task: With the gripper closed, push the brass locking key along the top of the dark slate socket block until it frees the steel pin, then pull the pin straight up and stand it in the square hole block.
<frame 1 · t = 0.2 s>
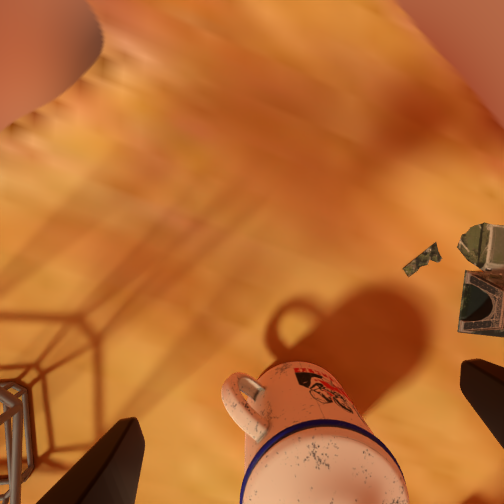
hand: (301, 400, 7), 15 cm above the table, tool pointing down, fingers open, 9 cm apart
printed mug: (283, 397, 23), on the table
eiffel tower figurine: (489, 301, 24), on the table
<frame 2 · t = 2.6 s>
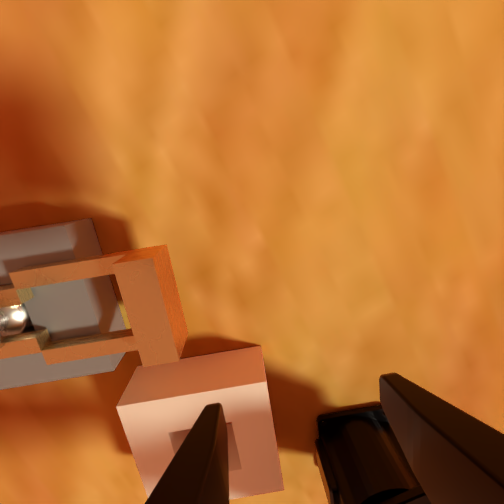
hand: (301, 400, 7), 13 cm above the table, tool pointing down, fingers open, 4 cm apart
brass key: (54, 320, 15), point 5 cm above the table, slide at 0.0 cm
socket block: (30, 298, 20), on the table
square hole block: (211, 405, 23), on the table
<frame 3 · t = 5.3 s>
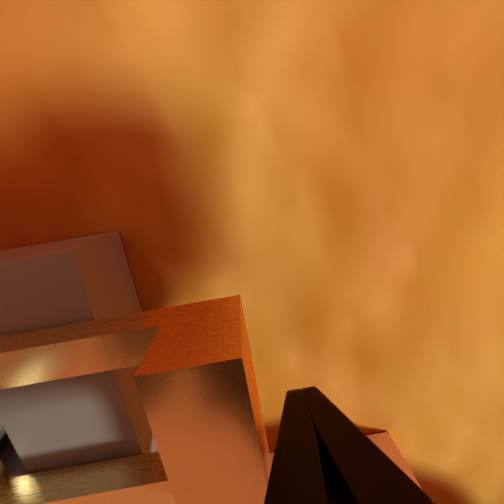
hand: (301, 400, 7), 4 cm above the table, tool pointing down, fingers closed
brass key: (3, 466, 7), point 5 cm above the table, slide at 1.3 cm, touching gripper
socket block: (11, 369, 11), on the table
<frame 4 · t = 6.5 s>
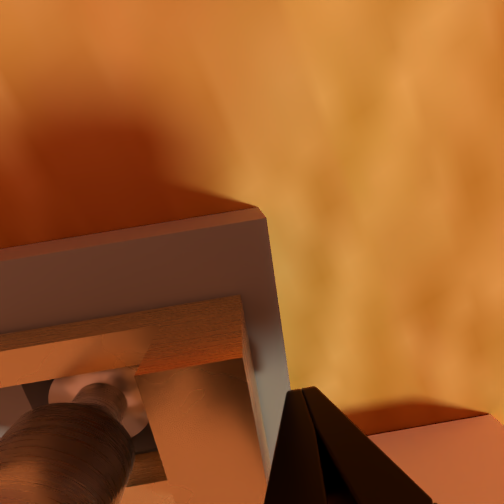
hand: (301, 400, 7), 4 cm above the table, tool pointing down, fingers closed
steel pin: (62, 468, 7), in the socket block
brass key: (2, 465, 7), point 5 cm above the table, slide at 6.5 cm, touching gripper
socket block: (135, 347, 11), on the table
square hole block: (394, 502, 15), on the table
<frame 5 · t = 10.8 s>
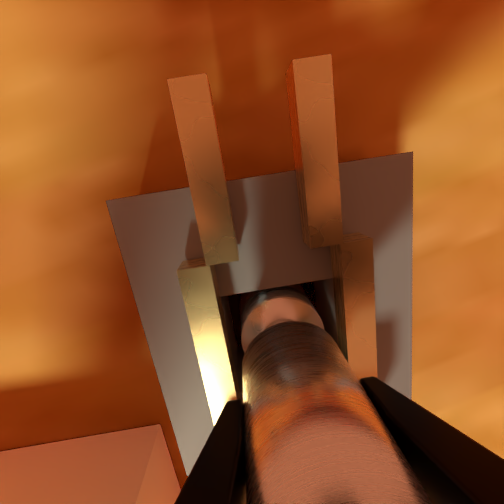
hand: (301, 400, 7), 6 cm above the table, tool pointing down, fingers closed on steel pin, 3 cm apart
steel pin: (294, 374, 8), in the socket block, touching gripper
brass key: (284, 312, 8), point 5 cm above the table, slide at 6.7 cm
socket block: (272, 303, 13), on the table
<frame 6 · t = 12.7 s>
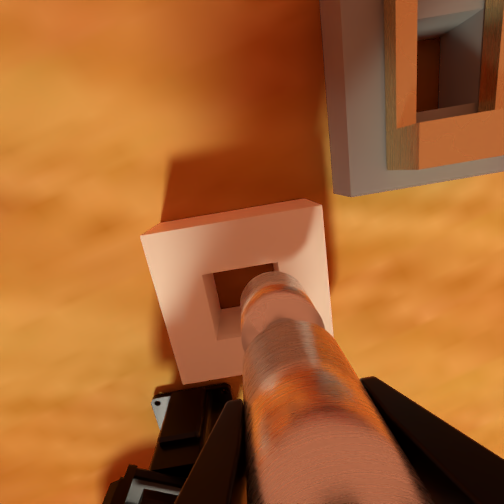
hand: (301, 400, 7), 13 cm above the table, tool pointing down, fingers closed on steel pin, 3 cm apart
steel pin: (294, 373, 8), point 12 cm above the table, touching gripper
socket block: (405, 82, 17), on the table
square hole block: (244, 277, 20), on the table
when the fingers open (7 cm above the table, at t = 14.6 s): steel pin drops 1 cm, resting in square hole block.
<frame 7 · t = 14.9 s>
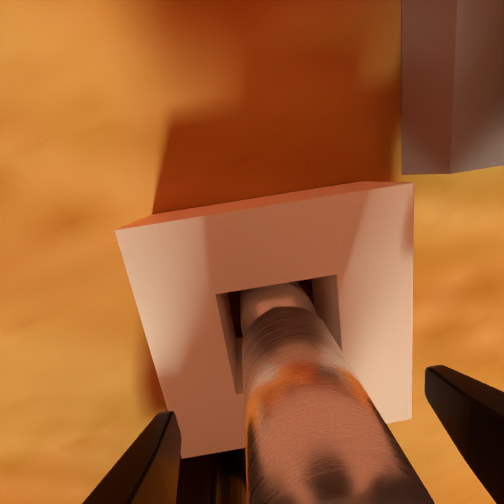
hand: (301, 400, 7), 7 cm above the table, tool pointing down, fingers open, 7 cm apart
steel pin: (288, 353, 9), in the square hole block
square hole block: (270, 294, 14), on the table
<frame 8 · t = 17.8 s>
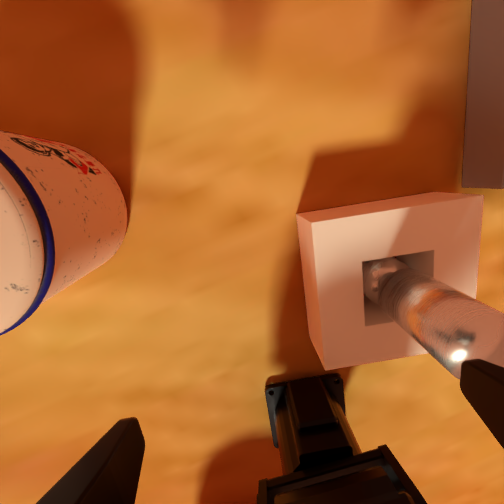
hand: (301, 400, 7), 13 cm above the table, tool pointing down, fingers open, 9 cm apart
steel pin: (408, 296, 16), in the square hole block
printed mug: (43, 209, 18), on the table
square hole block: (368, 268, 21), on the table
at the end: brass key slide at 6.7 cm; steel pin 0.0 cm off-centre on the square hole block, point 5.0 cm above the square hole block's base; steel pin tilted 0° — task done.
